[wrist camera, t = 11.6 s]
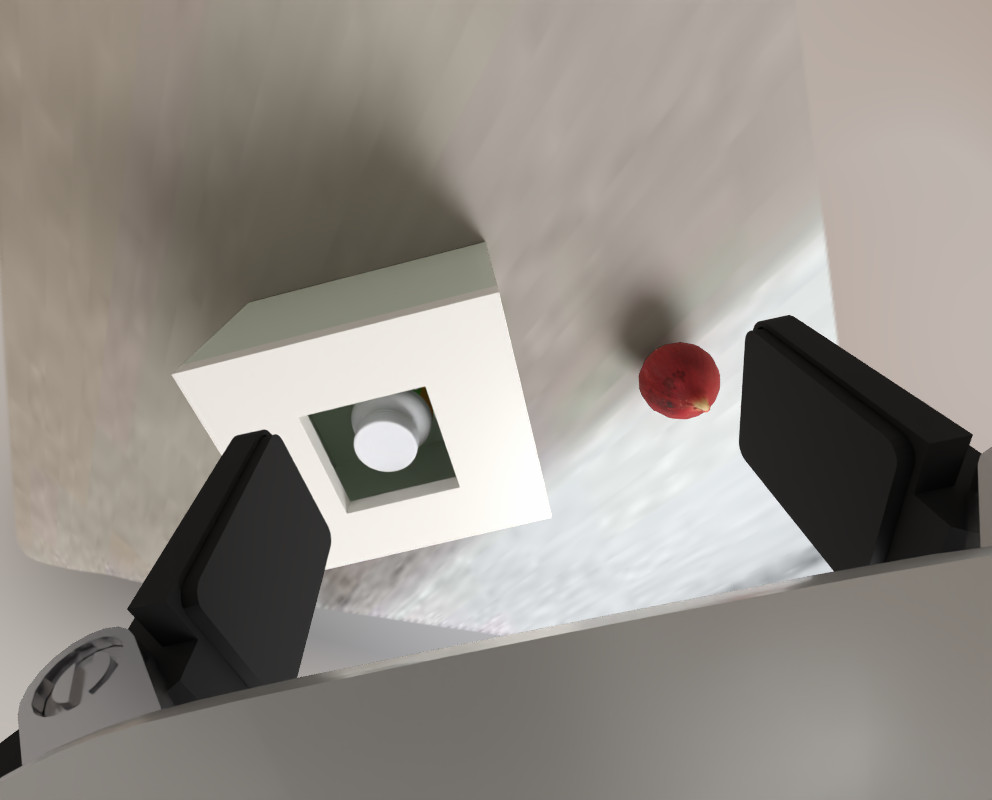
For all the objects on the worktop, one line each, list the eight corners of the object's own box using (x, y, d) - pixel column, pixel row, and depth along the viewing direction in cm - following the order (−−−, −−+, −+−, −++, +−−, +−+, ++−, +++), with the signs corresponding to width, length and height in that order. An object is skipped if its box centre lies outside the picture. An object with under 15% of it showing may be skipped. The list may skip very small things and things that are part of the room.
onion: (630, 397, 44) (663, 450, 37) (624, 337, 42) (658, 382, 35) (696, 382, 44) (742, 432, 37) (695, 320, 41) (744, 362, 34)
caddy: (248, 302, 38) (171, 374, 27) (485, 241, 37) (499, 292, 27) (331, 470, 46) (296, 576, 35) (528, 423, 45) (552, 517, 34)
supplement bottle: (436, 342, 39) (427, 411, 31) (438, 402, 42) (430, 480, 34) (364, 342, 39) (335, 411, 30) (372, 402, 42) (347, 481, 33)
